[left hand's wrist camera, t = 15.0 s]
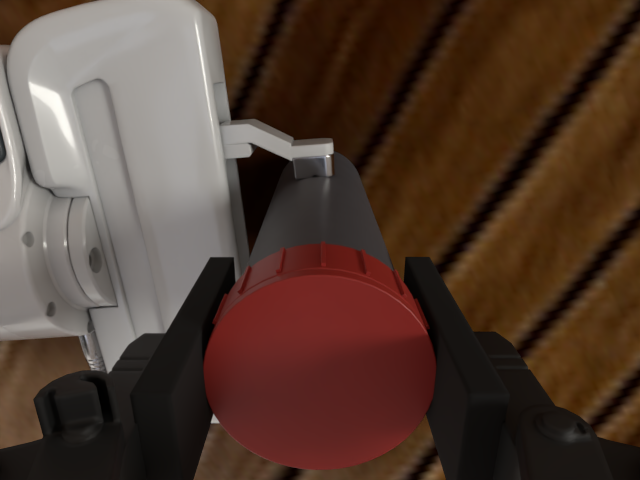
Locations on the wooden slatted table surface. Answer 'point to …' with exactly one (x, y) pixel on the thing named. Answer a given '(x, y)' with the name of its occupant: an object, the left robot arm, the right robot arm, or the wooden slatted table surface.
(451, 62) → the wooden slatted table surface
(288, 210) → the jar
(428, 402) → the lid
